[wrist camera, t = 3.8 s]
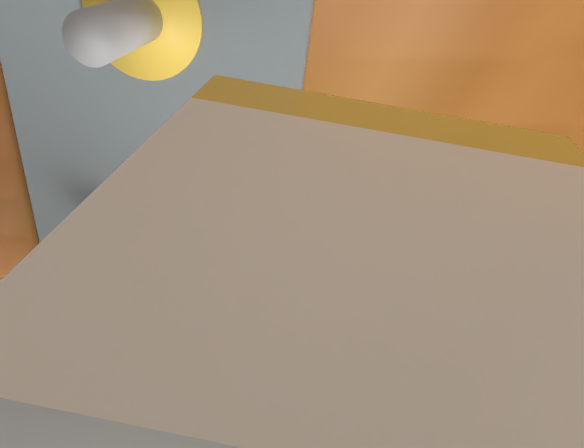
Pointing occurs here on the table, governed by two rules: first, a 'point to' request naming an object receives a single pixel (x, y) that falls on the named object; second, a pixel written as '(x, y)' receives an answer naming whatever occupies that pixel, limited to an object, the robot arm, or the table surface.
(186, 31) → the board
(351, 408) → the sleeve
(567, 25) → the table surface
